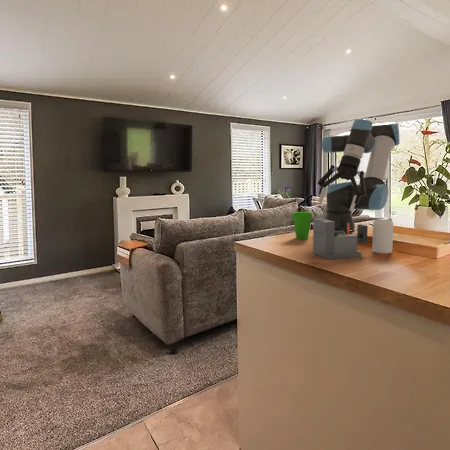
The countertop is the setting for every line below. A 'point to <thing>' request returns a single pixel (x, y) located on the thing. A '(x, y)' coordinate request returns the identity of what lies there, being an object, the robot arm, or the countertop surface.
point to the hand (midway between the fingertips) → (335, 206)
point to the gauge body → (333, 241)
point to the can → (382, 235)
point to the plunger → (359, 232)
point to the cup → (302, 224)
